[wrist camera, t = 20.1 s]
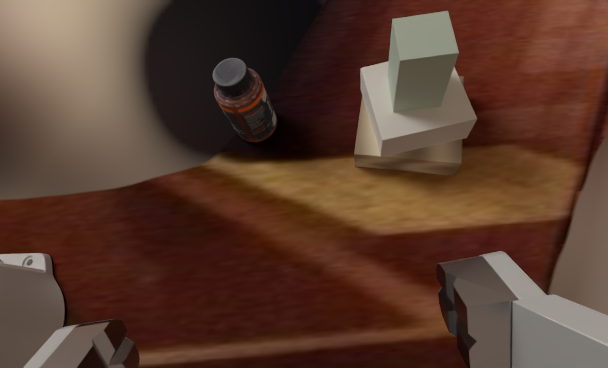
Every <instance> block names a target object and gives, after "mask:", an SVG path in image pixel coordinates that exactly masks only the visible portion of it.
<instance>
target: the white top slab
mask: <svg viewBox="0 0 608 368" xmlns="http://www.w3.org/2000/svg"><path fill="white" fill-rule="evenodd" d="M388 63H389V62H384V63H380V64H376V65H372V66H368V67H364V68H361V92H362V96H363V99H364V102H365V106H366V109H367V113H368V116H369V119H370V123H371V126H372V130H373V133H374V136H375V140H376V143H377V147H378V150H379V154H380V157H383V156H388V155H392V154H397V153H401V152H406V151H410V150H415V149H419V148H424V147H429V146H433V145H438V144H442V143H447V142H451V141H456V140H460V139H465V138H467V137H468V135H469V133H470V131H471V130H472V128H473V126H474V124H475V122H476V120H477V117H476V115H475V112H474V110H473V108H472V106H471V103H470V101H469V99H468V97H467V94H466V92H465V90H464V88H463V85H462V83H461V81H460V79H459V76H458V74H457V72H456V70H455V67H454V68H453V71H452V74H451V77H450V80H449V83H448V86H447V89H446V92H445V95H444V98H443V100H442V103H441V106H440V107H433V108H424V109H415V110H406V111H398V112H393V109H392V102H391V96H390V89H389V83H388V76H387V74H388Z"/></svg>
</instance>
